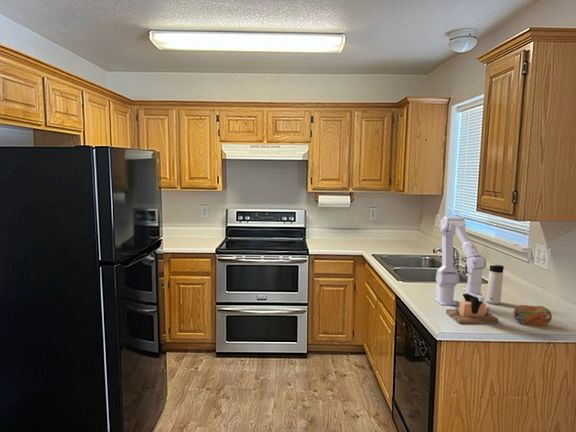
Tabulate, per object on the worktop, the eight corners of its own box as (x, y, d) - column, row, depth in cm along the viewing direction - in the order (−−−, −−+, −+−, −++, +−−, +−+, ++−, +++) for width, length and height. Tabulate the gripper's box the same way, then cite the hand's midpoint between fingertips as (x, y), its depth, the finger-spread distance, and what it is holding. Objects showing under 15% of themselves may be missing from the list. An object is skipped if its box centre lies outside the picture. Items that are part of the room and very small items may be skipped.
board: (446, 313, 191) (446, 303, 191) (482, 313, 193) (483, 303, 192) (458, 323, 180) (459, 312, 179) (497, 323, 181) (498, 312, 180)
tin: (514, 323, 181) (516, 305, 180) (511, 321, 184) (513, 303, 183) (551, 326, 179) (553, 308, 178) (547, 324, 182) (549, 305, 181)
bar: (479, 313, 189) (480, 301, 188) (484, 317, 185) (485, 304, 184) (458, 313, 188) (460, 301, 187) (463, 317, 184) (464, 304, 183)
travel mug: (492, 305, 204) (495, 266, 202) (483, 300, 211) (487, 263, 208) (503, 305, 205) (507, 266, 203) (494, 300, 212) (498, 263, 209)
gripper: (457, 278, 191) (455, 305, 193) (474, 287, 177) (471, 317, 178) (472, 278, 192) (469, 305, 193) (490, 287, 177) (487, 317, 179)
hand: (471, 311), depth 186 cm, fingers closed on bar, 4 cm apart
